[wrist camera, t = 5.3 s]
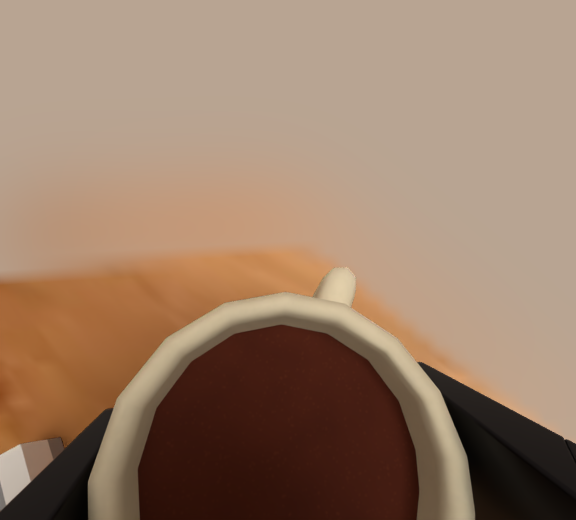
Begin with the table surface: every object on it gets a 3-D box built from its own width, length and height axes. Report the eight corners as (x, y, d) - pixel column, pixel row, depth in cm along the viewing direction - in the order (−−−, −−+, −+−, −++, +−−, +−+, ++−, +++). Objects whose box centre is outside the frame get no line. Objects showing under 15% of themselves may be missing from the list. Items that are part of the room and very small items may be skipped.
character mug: (289, 585, 16) (411, 1142, 4) (149, 520, 16) (-136, 840, 4) (356, 358, 20) (508, 286, 8) (244, 312, 20) (236, 181, 9)
